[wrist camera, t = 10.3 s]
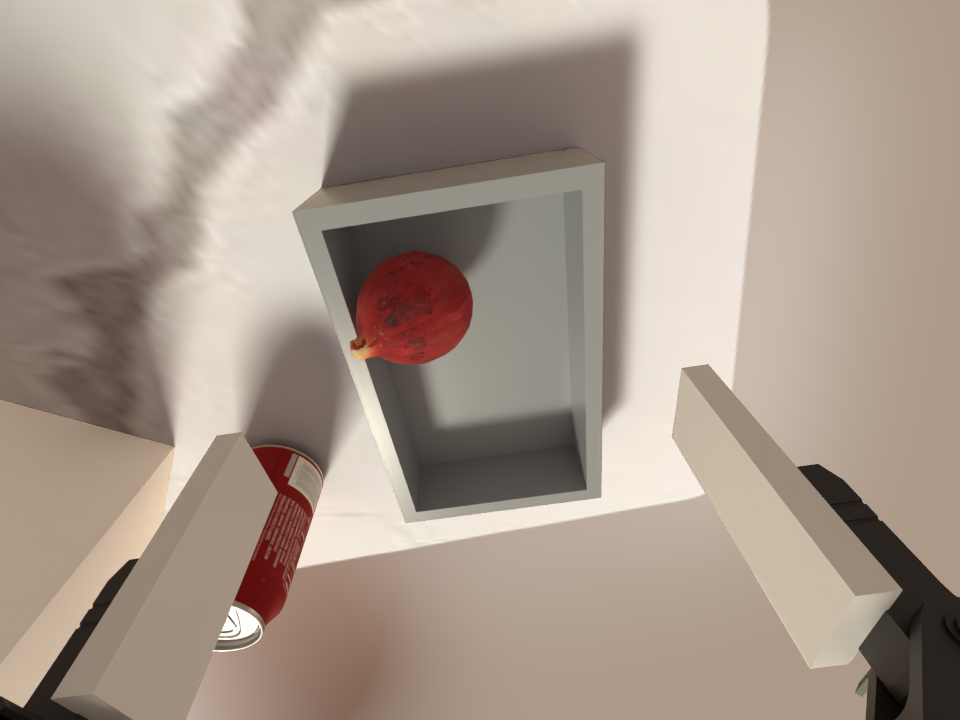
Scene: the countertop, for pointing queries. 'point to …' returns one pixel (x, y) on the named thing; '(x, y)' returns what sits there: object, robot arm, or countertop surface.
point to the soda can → (274, 545)
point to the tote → (481, 328)
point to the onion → (412, 309)
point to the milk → (66, 529)
